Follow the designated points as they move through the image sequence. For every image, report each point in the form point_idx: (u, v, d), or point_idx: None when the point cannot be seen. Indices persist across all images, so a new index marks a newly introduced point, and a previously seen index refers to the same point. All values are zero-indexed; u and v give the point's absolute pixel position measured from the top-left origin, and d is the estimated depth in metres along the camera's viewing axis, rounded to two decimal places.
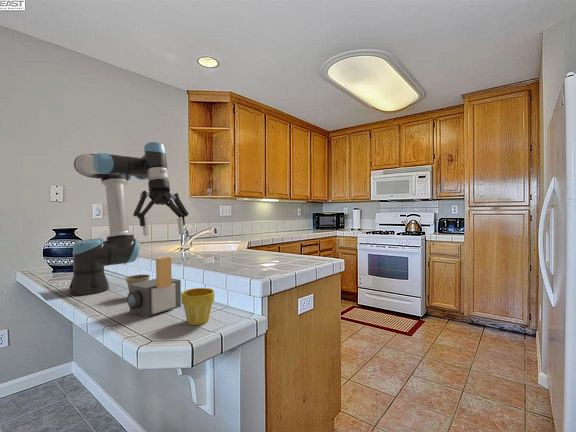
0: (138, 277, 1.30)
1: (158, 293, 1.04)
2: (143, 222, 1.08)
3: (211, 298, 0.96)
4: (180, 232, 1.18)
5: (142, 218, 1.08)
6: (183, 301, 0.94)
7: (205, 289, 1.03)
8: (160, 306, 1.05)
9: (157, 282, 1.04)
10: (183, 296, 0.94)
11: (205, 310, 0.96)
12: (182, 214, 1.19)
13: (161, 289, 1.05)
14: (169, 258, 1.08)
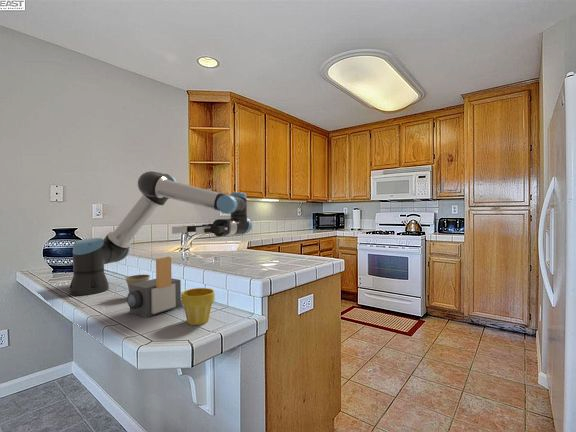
0: (138, 277, 1.30)
1: (158, 293, 1.04)
2: (207, 232, 1.14)
3: (211, 298, 0.96)
4: (174, 229, 1.18)
5: (210, 231, 1.15)
6: (183, 301, 0.94)
7: (205, 290, 1.03)
8: (160, 306, 1.05)
9: (157, 282, 1.04)
10: (183, 296, 0.94)
11: (205, 310, 0.96)
12: None
13: (161, 289, 1.05)
14: (169, 258, 1.08)
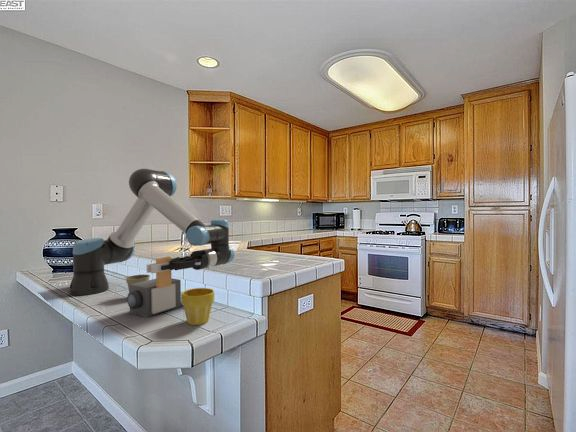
0: (138, 277, 1.30)
1: (158, 293, 1.04)
2: None
3: (211, 298, 0.96)
4: (149, 268, 1.03)
5: (168, 268, 1.06)
6: (183, 301, 0.94)
7: (205, 289, 1.03)
8: (160, 306, 1.05)
9: (157, 282, 1.04)
10: (183, 296, 0.94)
11: (205, 310, 0.96)
12: None
13: (161, 289, 1.05)
14: (169, 258, 1.08)
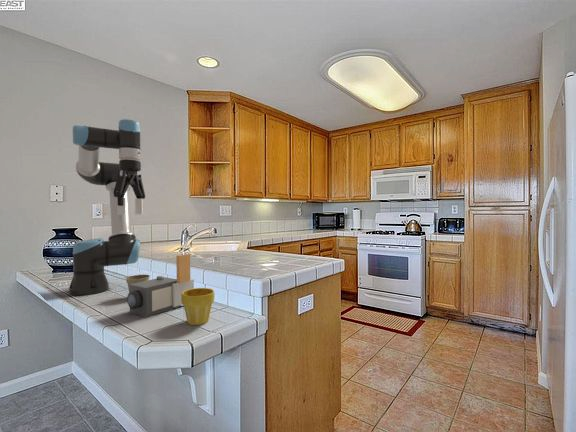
0: (138, 277, 1.30)
1: (178, 288, 1.12)
2: (122, 202, 1.11)
3: (211, 298, 0.96)
4: (138, 212, 1.25)
5: (122, 198, 1.11)
6: (183, 301, 0.94)
7: (205, 289, 1.03)
8: (180, 300, 1.12)
9: (178, 278, 1.12)
10: (183, 296, 0.94)
11: (205, 310, 0.96)
12: (142, 196, 1.26)
13: (181, 284, 1.13)
14: (188, 255, 1.15)
